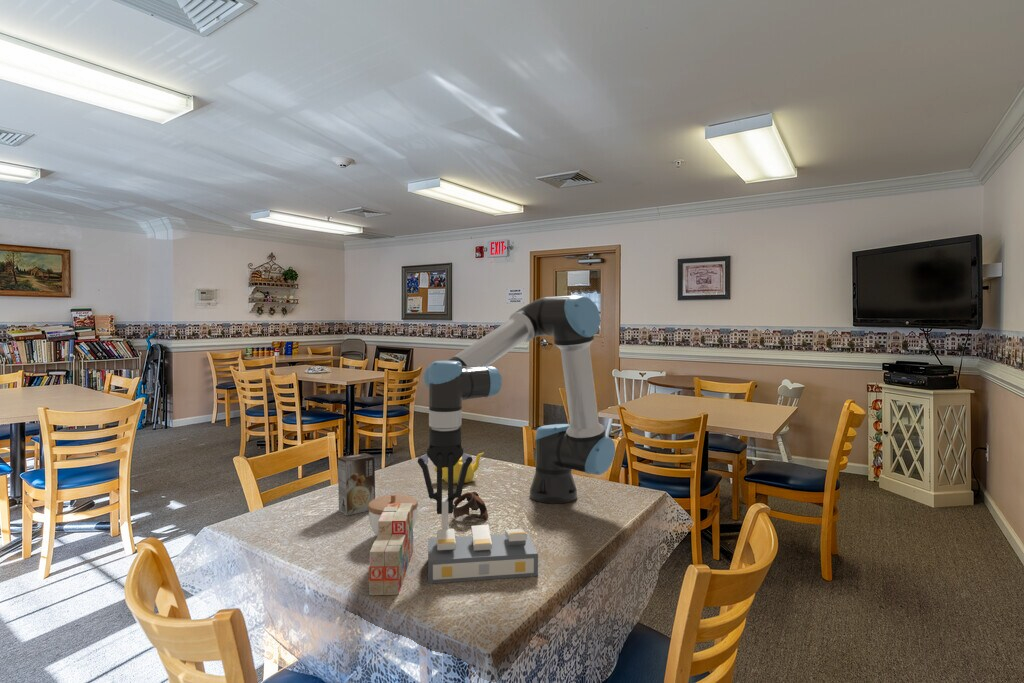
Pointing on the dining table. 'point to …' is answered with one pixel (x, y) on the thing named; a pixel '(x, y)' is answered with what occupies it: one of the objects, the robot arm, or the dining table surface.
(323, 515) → the dining table surface
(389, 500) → the lidded bowl
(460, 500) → the brown curved piece
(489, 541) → the rocker
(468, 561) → the switch box
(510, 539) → the small box
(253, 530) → the dining table surface
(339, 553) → the dining table surface
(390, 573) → the stack of blocks
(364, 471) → the coffee box
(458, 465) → the teapot
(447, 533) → the rocker
